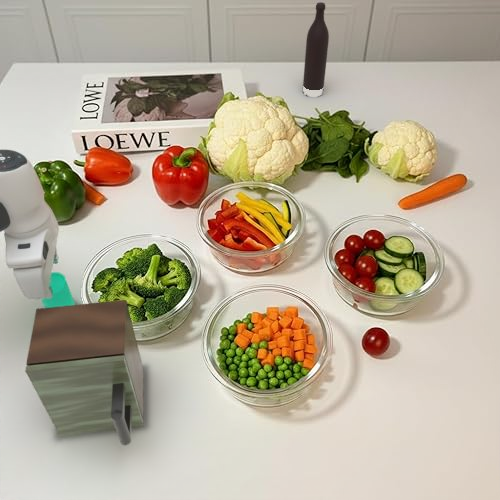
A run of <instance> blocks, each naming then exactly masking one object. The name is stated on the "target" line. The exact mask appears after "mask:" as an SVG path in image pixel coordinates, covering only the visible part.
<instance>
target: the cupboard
mask: <svg viewBox="0 0 500 500" xmlns="http://www.w3.org/2000/svg"><path fill="white" fill-rule="evenodd" d="M122 355H124V356H125V360H126V363H127V367H128V370H129V374H130V377H131V381H132V384H133V387H134V391H135V394H136V398H137V401H138V405H139V408H140V412H141V415H142V419H143V420H144V386H145V385H144V382H145V381H144V380H145V379H144V373H145V369H144V366H143V362H142V357H141V354H140V350H139V345H138V342H137V337H136V333H135V329H134V326H133V322H132V317H131V314H130V309H129V306H128V302H127V300H126V299H120V300H113V301H112V300H111V301H101V302H91V303H90V302H89V303H81V304H75V305H70V306H60V307H50V308H45V307H42V308H36V310H35V314H34V321H33V326H32V330H31V336H30V341H29V346H28V352H27V357H26V366H30V365H39V364H48V363H58V362H67V361H76V360H85V359H94V358H103V357H112V356H122Z"/></svg>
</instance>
